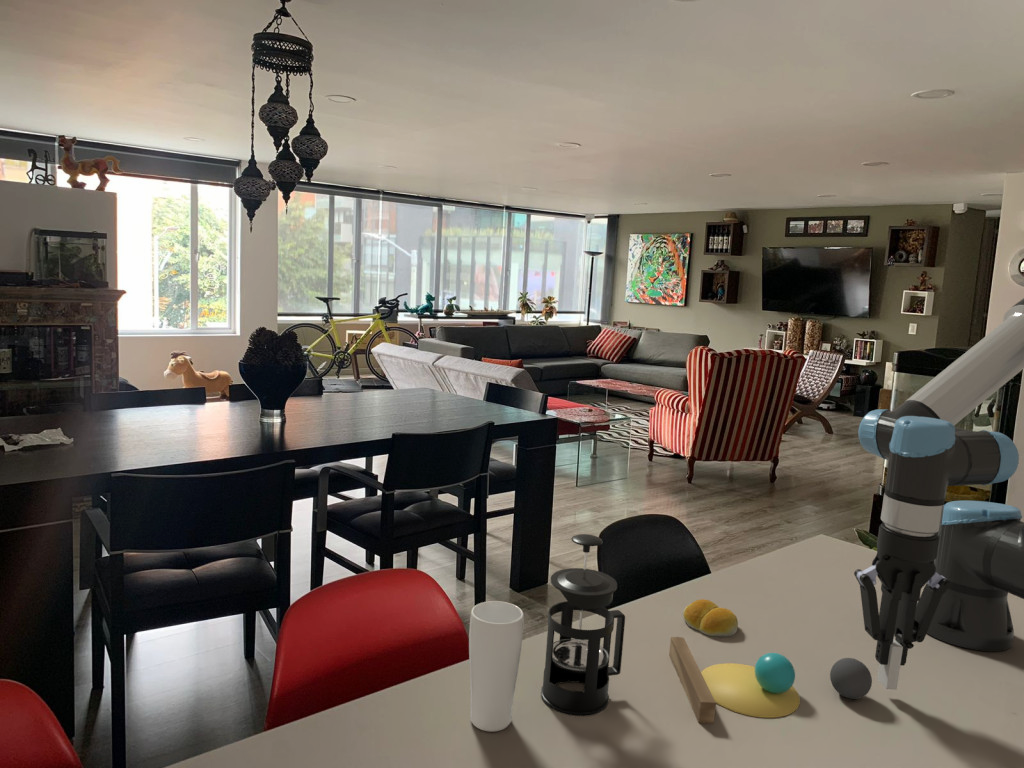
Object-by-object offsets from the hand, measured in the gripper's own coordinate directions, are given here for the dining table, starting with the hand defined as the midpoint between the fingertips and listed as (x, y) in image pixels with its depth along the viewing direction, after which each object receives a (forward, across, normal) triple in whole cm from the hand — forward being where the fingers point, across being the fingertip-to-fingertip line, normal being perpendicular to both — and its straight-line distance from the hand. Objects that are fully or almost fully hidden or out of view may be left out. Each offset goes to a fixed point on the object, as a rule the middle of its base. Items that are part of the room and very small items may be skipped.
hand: (886, 684), depth 110 cm
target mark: (+2, +20, 0) cm, 20 cm away
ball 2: (-1, +6, 0) cm, 6 cm away
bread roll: (+2, +20, -20) cm, 29 cm away
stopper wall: (+2, +28, 0) cm, 29 cm away
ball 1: (-1, +16, 0) cm, 16 cm away
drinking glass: (+2, +57, +11) cm, 58 cm away
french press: (+2, +45, +4) cm, 45 cm away
